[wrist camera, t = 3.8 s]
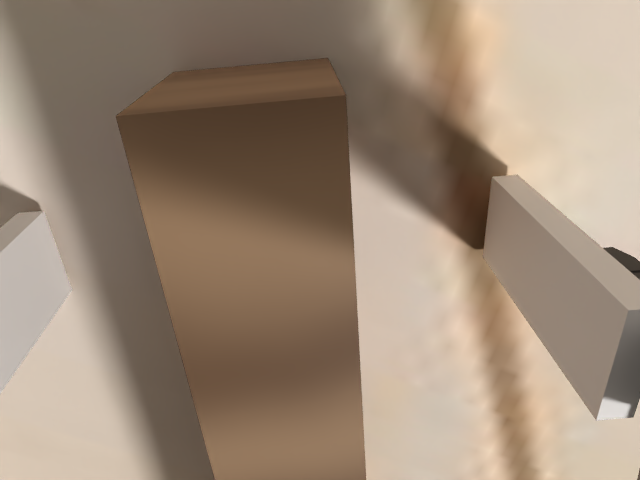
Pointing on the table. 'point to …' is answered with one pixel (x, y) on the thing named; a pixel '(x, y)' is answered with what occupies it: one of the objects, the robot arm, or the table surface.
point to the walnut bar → (257, 261)
